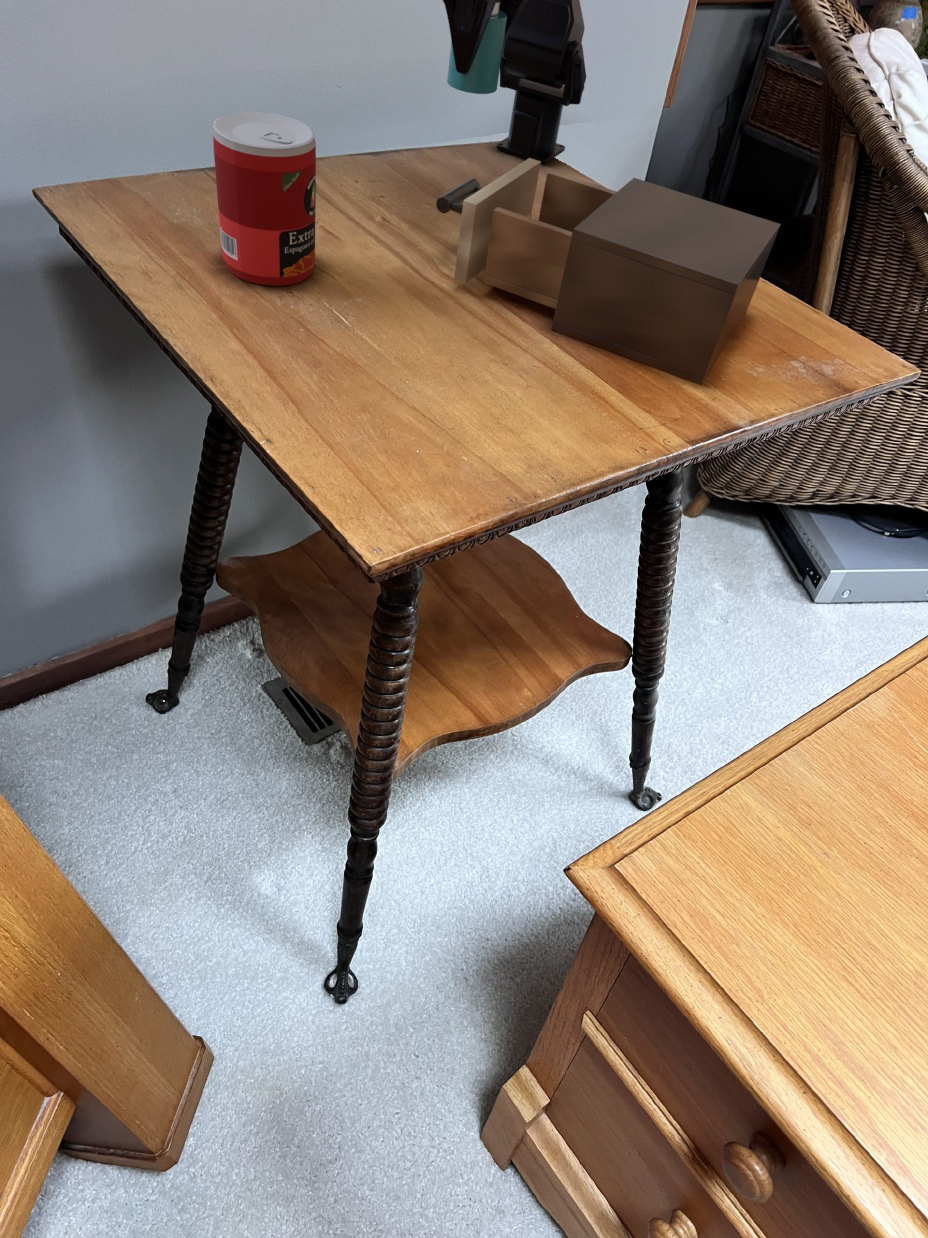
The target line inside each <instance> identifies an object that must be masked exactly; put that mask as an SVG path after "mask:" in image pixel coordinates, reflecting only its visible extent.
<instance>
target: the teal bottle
mask: <svg viewBox="0 0 928 1238" xmlns="http://www.w3.org/2000/svg"><path fill="white" fill-rule="evenodd" d="M499 8H500V0H497V1H496V4H495V7H494V9H493V12H492V14H491V17H490V19H489V22H488V25H487V27H486V30H485V32H484V35H483V38H482V40H481V43H480V45H479V48H478V51H477V53H476V56H475V58H474V61H473V63H472V65H471V67H470V70H469V72H468V73H467V74H462V73H459V72H457V71H456V66H455V60H454V53H453V47H452V41H451V40H450V52H449V59H448V70H447V79H446V82H447V84H448V86H450V87H451V88H453V89H455V90H457V91H461V92H465V93H469V94H475V95H489V94H493V93H496V92H497V90H498V84H499V79H500V64H501V57H502V50H503V43H504V35H505V28H506V21H507V15H506V13H504V12H502V11H500V10H499Z"/></svg>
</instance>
